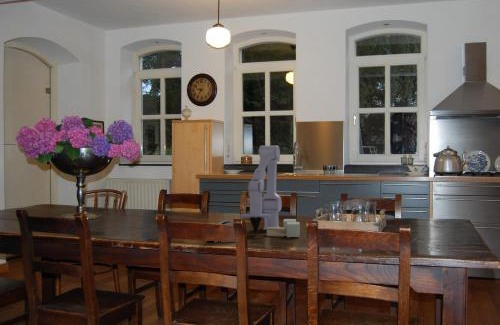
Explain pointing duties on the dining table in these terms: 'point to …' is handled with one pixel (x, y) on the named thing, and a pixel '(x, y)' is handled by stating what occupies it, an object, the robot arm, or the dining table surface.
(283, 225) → the pale green block
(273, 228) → the beige rectangular bar
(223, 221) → the hinge
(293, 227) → the end cap
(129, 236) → the dining table surface
